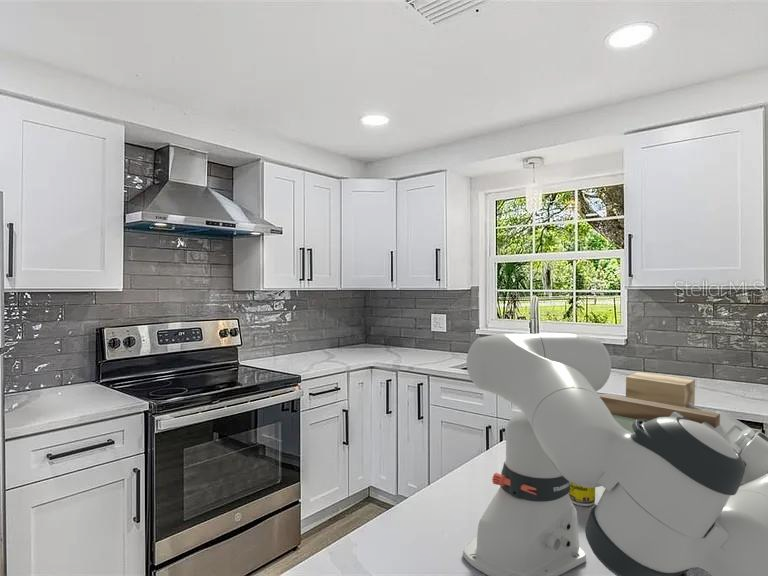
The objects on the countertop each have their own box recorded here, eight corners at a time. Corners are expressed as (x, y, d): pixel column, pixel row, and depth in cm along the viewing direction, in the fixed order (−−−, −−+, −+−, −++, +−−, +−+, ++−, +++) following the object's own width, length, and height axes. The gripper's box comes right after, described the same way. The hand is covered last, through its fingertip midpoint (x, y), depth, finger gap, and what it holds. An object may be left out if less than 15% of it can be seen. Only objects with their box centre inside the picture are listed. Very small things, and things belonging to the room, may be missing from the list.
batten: (715, 435, 95) (715, 417, 95) (599, 412, 111) (599, 396, 111) (719, 431, 98) (720, 413, 98) (606, 408, 114) (606, 393, 113)
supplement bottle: (563, 501, 109) (564, 455, 109) (573, 493, 113) (574, 448, 113) (589, 510, 105) (590, 462, 105) (599, 501, 109) (599, 455, 109)
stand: (682, 504, 107) (684, 385, 107) (624, 487, 116) (626, 376, 115) (692, 493, 113) (694, 379, 112) (636, 477, 122) (638, 371, 121)
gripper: (726, 488, 87) (652, 433, 95) (749, 457, 101) (684, 411, 110) (749, 462, 84) (671, 408, 93) (769, 434, 99) (701, 389, 107)
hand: (678, 409), depth 101 cm, fingers open, 8 cm apart
